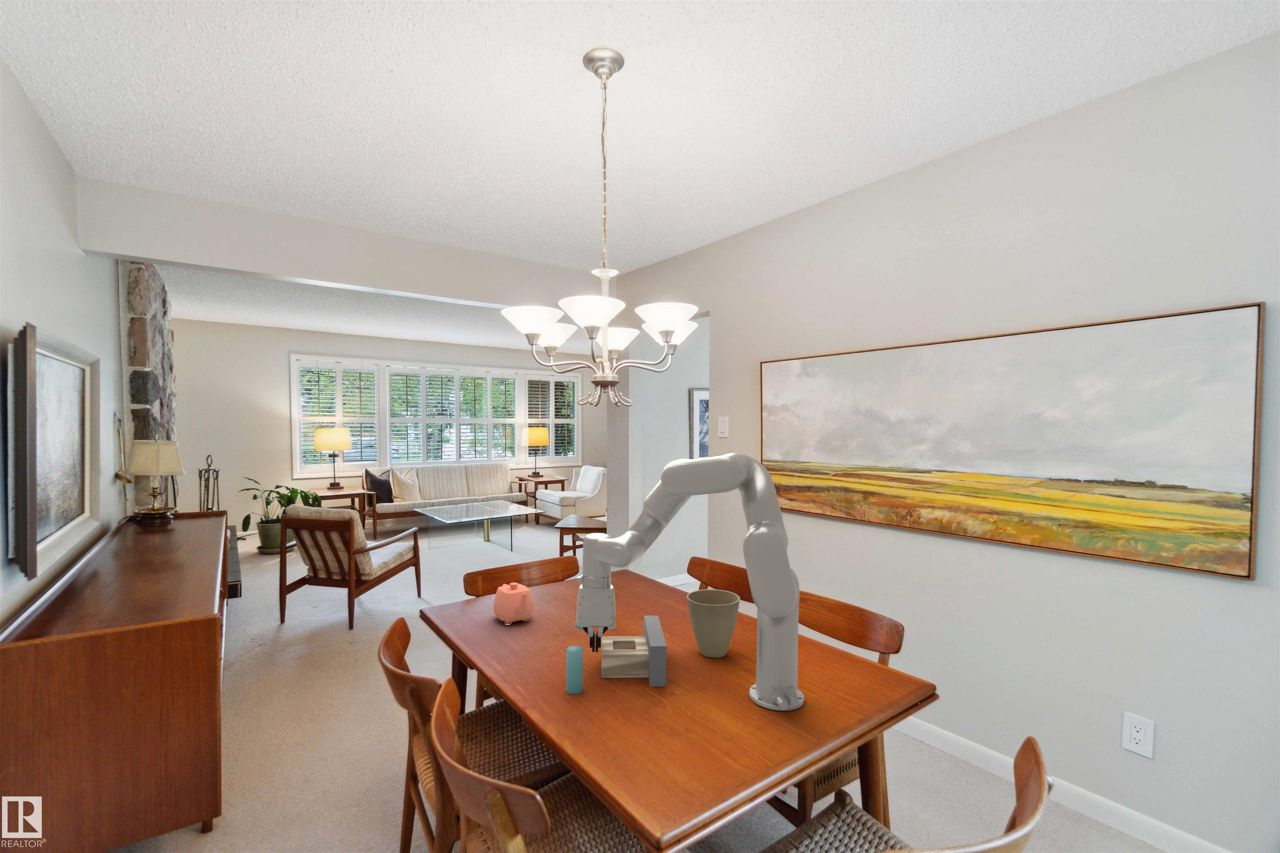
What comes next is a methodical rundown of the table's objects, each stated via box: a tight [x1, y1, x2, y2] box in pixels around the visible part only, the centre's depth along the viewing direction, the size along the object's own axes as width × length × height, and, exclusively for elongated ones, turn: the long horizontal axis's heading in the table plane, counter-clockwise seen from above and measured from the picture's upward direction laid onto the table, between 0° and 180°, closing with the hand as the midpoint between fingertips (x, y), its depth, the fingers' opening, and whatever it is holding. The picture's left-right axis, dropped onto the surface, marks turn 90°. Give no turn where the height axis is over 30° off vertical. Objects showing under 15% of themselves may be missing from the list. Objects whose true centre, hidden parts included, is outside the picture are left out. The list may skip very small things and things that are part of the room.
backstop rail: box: [643, 615, 668, 688], centre depth 149 cm, size 22×4×10 cm, turn 4°
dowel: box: [565, 645, 584, 695], centre depth 136 cm, size 4×4×10 cm
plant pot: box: [686, 588, 741, 659], centre depth 159 cm, size 15×15×16 cm
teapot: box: [493, 582, 535, 625], centre depth 183 cm, size 20×12×12 cm, turn 35°
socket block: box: [600, 635, 649, 679], centre depth 149 cm, size 12×12×6 cm
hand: (595, 650), depth 148 cm, fingers closed
